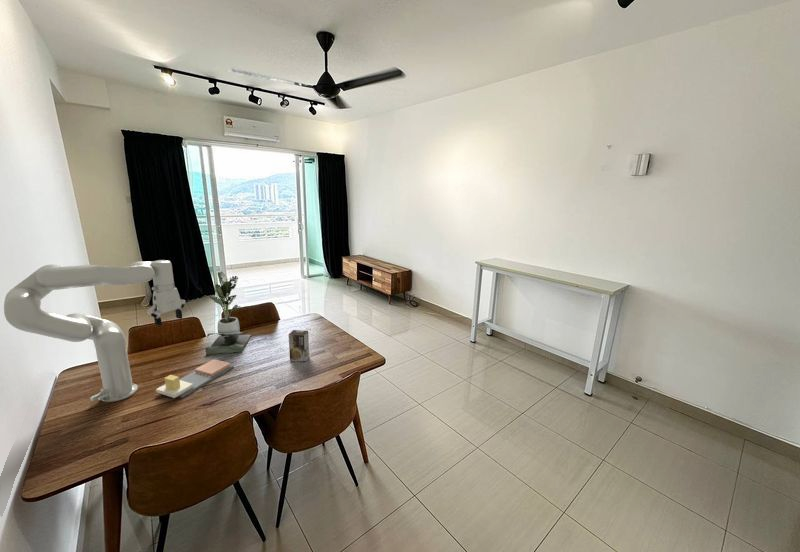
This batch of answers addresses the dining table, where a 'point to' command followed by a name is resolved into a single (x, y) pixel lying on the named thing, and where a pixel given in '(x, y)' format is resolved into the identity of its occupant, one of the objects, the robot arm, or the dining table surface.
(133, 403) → the dining table surface
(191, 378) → the board
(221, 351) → the potted plant
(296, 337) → the coffee box
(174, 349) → the dining table surface
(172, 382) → the butter dish
